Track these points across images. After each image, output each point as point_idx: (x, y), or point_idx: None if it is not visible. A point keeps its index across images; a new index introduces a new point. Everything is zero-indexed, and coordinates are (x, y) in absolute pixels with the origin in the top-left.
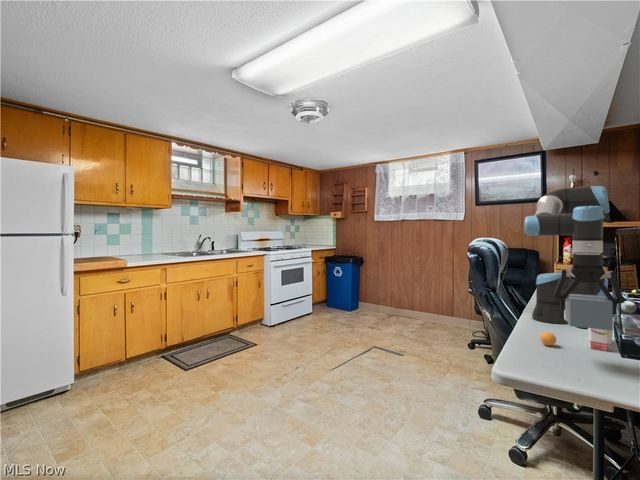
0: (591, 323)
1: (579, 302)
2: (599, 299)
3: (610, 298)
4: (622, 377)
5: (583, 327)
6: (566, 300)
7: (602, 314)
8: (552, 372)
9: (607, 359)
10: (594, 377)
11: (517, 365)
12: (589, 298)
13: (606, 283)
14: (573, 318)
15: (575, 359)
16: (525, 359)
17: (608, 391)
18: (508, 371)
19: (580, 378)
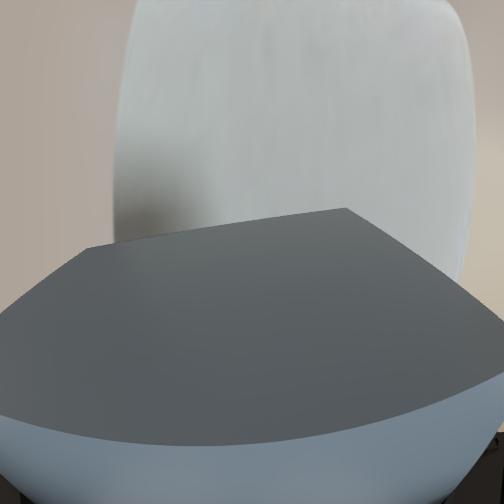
0: (193, 241)
1: (351, 363)
2: (61, 497)
3: (9, 497)
4: (140, 167)
5: (254, 220)
6: None
7: (73, 294)
8: (345, 64)
9: None
10: (219, 98)
11: (437, 80)
12: None
13: None
14: (345, 228)
15: None
16: (426, 157)
17: (190, 6)
18: (441, 21)
19: (262, 58)
